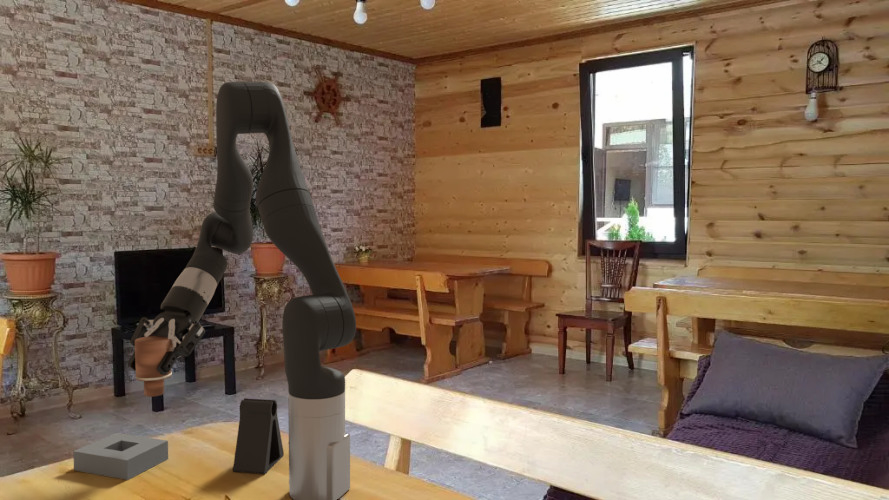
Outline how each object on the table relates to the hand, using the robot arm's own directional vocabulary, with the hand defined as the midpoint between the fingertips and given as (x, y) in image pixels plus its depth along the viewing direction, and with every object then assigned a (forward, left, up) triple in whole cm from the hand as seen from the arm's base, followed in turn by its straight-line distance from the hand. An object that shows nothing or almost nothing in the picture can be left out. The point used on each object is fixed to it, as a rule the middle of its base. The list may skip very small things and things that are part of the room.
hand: (146, 370), depth 125 cm
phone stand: (-19, -7, -18) cm, 27 cm away
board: (+4, +2, -17) cm, 18 cm away
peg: (0, -2, -5) cm, 5 cm away
